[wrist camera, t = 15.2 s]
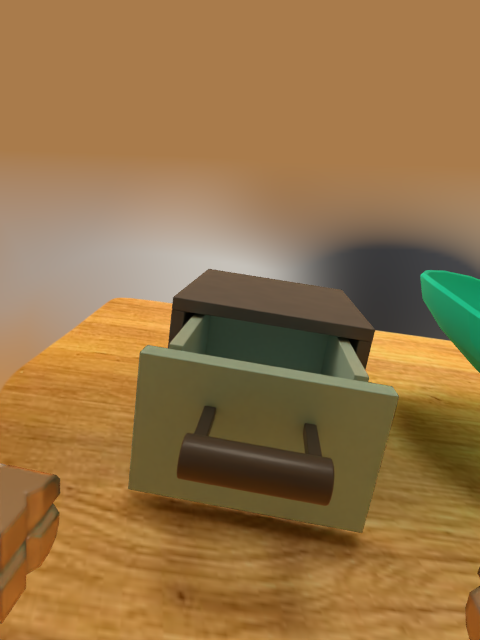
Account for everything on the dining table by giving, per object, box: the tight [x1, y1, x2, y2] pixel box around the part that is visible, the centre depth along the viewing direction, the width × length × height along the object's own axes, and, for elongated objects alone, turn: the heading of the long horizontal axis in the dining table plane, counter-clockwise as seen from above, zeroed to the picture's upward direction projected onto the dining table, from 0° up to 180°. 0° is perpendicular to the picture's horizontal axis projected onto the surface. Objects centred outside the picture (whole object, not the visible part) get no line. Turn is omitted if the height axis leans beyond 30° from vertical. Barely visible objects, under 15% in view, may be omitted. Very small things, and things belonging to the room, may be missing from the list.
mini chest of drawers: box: [168, 269, 375, 369], centre depth 36 cm, size 15×14×10 cm
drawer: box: [128, 313, 399, 533], centre depth 25 cm, size 18×13×8 cm
